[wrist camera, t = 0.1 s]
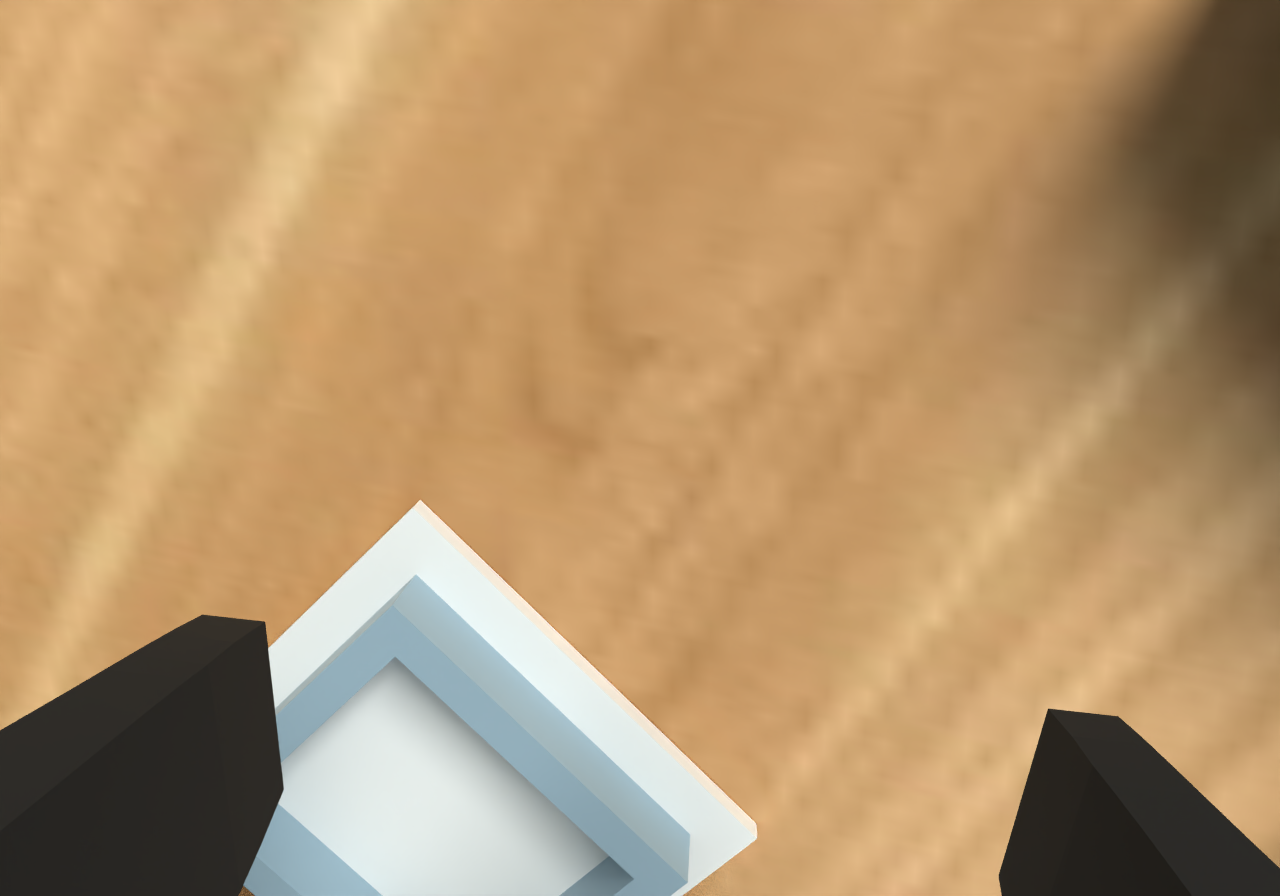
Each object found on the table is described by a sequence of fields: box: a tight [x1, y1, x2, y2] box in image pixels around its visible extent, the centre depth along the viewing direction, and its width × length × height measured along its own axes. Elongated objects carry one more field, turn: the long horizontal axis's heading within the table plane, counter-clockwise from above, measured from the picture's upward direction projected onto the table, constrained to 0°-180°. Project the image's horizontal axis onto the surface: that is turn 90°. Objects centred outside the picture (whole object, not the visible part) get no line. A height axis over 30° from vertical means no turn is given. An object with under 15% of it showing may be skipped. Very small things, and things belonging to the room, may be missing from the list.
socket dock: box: [244, 500, 757, 896], centre depth 21 cm, size 9×10×2 cm
